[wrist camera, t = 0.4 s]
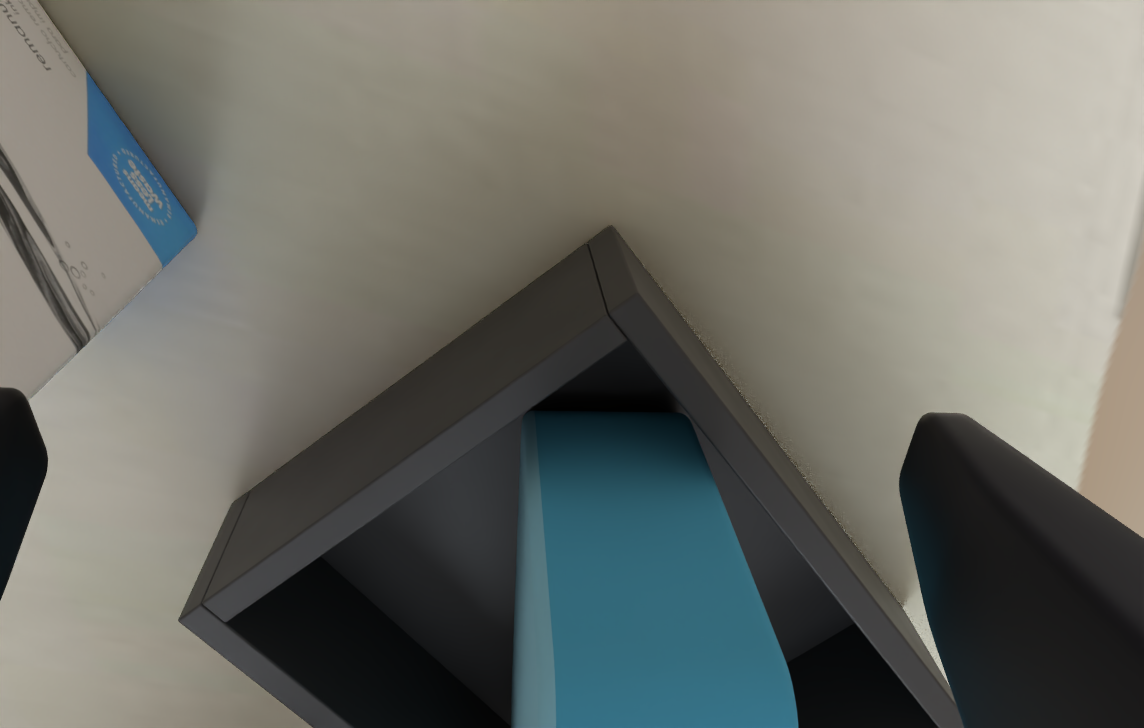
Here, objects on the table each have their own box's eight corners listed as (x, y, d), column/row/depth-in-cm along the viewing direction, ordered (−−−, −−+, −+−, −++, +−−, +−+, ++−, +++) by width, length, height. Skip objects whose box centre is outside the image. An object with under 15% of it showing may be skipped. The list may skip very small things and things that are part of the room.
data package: (644, 709, 31) (724, 1128, 20) (510, 711, 31) (517, 1140, 20) (682, 391, 26) (817, 723, 15) (522, 388, 25) (541, 728, 15)
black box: (572, 804, 33) (584, 942, 28) (230, 503, 27) (176, 621, 22) (904, 610, 30) (975, 729, 26) (611, 223, 24) (638, 292, 19)
